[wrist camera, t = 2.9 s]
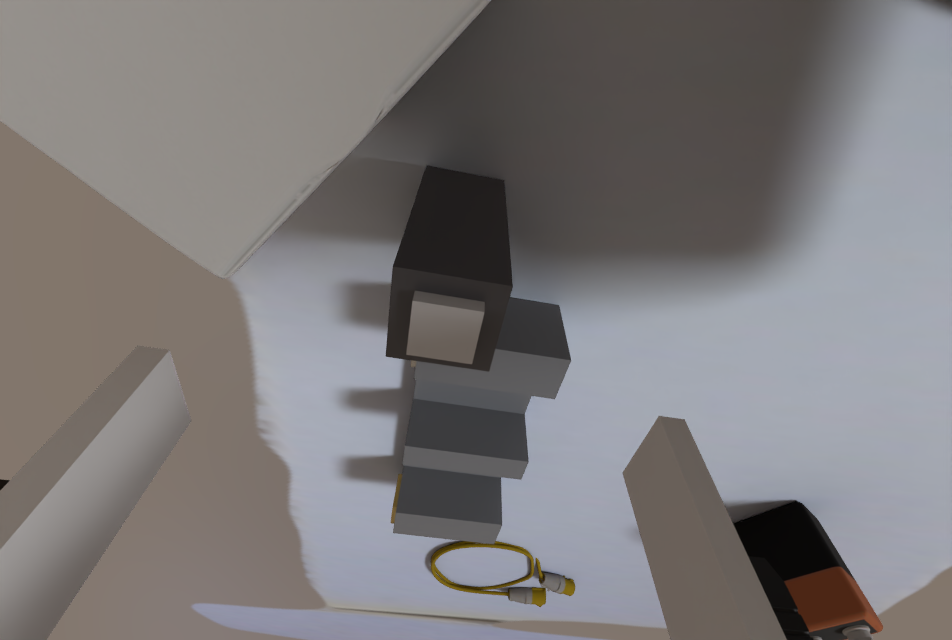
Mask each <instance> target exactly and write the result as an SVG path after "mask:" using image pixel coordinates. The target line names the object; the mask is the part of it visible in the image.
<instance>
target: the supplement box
mask: <svg viewBox="0 0 952 640" xmlns="http://www.w3.org/2000/svg"><path fill="white" fill-rule="evenodd" d="M490 1H491V0H0V121H1V122H2V123H3V124H5V125H6V126H8V127H9V128H10V129H12V130H13V131H14V132H16V133H17V134H19V135H20V136H21V137H23V138H24V139H25V140H27V141H28V142H29V143H31V144H32V145H33V146H35V147H36V148H38V149H39V150H40V151H42V152H43V153H44V154H46V155H47V156H48V157H50V158H51V159H53V160H54V161H55V162H57V163H58V164H60V165H61V166H62V167H64V168H65V169H66V170H68V171H69V172H71V173H72V174H73V175H75V176H76V177H77V178H79V179H80V180H82V181H83V182H84V183H85V184H87V185H88V186H89V187H91V188H92V189H94V190H95V191H96V192H97V193H99V194H100V195H102V196H103V197H104V198H106V199H107V200H108V201H110V202H111V203H113V204H114V205H115V206H117V207H118V208H120V209H121V210H122V211H124V212H125V213H126V214H128V215H129V216H131V217H132V218H133V219H135V220H136V221H138V222H139V223H140V224H142V225H143V226H144V227H146V228H147V229H149V230H150V231H151V232H153V233H154V234H156V235H157V236H158V237H160V238H161V239H162V240H164V241H165V242H167V243H168V244H169V245H171V246H172V247H174V248H175V249H177V250H178V251H180V252H181V253H183V254H184V255H186V256H187V257H188V258H190V259H192V260H193V261H194V262H196V263H197V264H199V265H200V266H202V267H203V268H205V269H206V270H207V271H209V272H210V273H212V274H214V275H215V276H217V277H219V278H221V279H225V278H229V277H230V276H231V275H233V274H234V273H235V272H237V271H238V270H239V269H240V268H241V266H242V265H243V264H244V263H245V262H246V261H247V260H248V259H249V258H250V257H251V256H252V255H253V254H254V253H255V252H256V251H257V250H258V249H259V248H260V247H261V246H262V245H263V244H264V243H265V241H266V240H267V239H268V238H269V237H270V236H271V235H272V234H273V233H274V232H275V231H276V230H277V229H278V228H279V227H280V226H281V225H282V224H283V223H284V222H285V221H286V220H287V219H288V218H289V217H290V216H291V215H292V214H293V212H294V211H295V210H296V209H297V208H298V207H299V206H300V205H301V204H302V203H303V202H304V201H305V200H306V199H307V198H308V197H309V196H310V195H311V194H312V193H313V192H314V191H315V190H316V189H317V188H318V187H319V185H320V184H321V183H322V182H323V181H324V180H325V179H326V178H327V177H328V176H329V175H330V174H331V173H332V172H333V171H334V170H335V169H336V168H337V167H338V165H339V164H340V163H341V162H342V161H343V160H344V159H345V158H346V157H347V156H348V155H349V154H350V153H351V152H352V151H353V150H354V149H355V148H356V146H357V145H358V144H359V143H360V142H361V141H362V140H363V139H364V138H365V137H366V136H367V135H368V134H369V133H370V132H371V130H372V129H373V128H374V127H375V126H376V125H377V124H378V123H379V122H380V121H381V120H382V119H383V118H384V117H385V116H386V114H387V113H388V112H389V111H390V110H391V109H392V108H393V107H394V106H395V105H396V104H397V103H398V102H399V101H400V99H401V98H402V97H403V96H404V95H405V94H406V93H407V92H408V91H409V90H410V89H411V87H412V86H413V85H414V84H415V83H416V82H417V81H418V80H419V79H420V78H421V77H422V75H423V74H424V73H425V72H426V71H427V70H428V69H429V68H430V67H431V66H432V65H433V64H434V62H435V61H436V60H437V59H438V58H439V57H440V56H441V55H442V54H443V53H444V52H445V51H446V49H447V48H448V47H449V46H450V45H451V44H452V43H453V42H454V41H455V40H456V39H457V38H458V36H459V35H460V34H461V33H462V32H463V31H464V30H465V29H466V28H467V27H468V26H469V25H470V23H471V22H472V21H473V20H474V19H475V18H476V17H477V16H478V15H479V14H480V12H481V11H482V10H483V9H484V8H485V7H486V6H487V5H488V4H489V2H490Z"/></svg>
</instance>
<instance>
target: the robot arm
mask: <svg viewBox="0 0 952 640" xmlns="http://www.w3.org/2000/svg"><path fill="white" fill-rule="evenodd" d="M190 422H191V418H190V415H189V412H188V408H187V405H186V402H185V398H184V395H183V392H182V389H181V385H180V382H179V379H178V376H177V372H176V369H175V366H174V362H173V359H172V356H171V353H170V350H166V349H158V348H151V347H144V346H137V347H136V348H135V349H134V350H133V351H132V352H131V353H130V354H129V355H128V356H127V357H126V359H125V360H124V361H123V362H122V363H121V364H120V365H119V366H118V367H117V368H116V369H115V370H114V371H113V372H112V373H111V374H110V375H109V376H108V378H106V380H105V381H104V382H103V383H102V384H101V385H100V386H99V387H98V388H97V389H96V390H95V391H94V392H93V393H92V394H91V395H90V396H89V398H88V399H87V400H86V401H85V402H84V403H83V404H82V405H81V406H80V407H79V408H78V409H77V410H76V411H75V412H74V413H73V414H72V415H71V417H70V418H69V419H68V420H67V421H66V422H65V423H64V424H63V425H62V426H61V427H60V428H59V429H58V430H57V431H56V432H55V433H54V434H53V435H52V437H51V438H50V439H49V440H48V441H47V442H46V443H45V444H44V445H43V446H42V447H41V448H40V449H39V450H38V451H37V452H36V453H35V454H34V456H33V457H32V458H31V459H30V460H29V461H28V462H27V463H26V464H25V465H24V466H23V467H22V468H21V469H20V470H19V471H18V473H16V475H15V476H14V477H13V478H12V479H11V480H0V640H47V638H48V637H49V635H50V634H51V632H52V631H53V629H54V628H55V626H56V624H57V623H58V622H59V620H60V619H61V617H62V616H63V614H64V613H65V611H66V610H67V608H68V607H69V605H70V603H71V602H72V600H73V599H74V597H75V596H76V594H77V593H78V591H79V590H80V588H81V587H82V585H83V584H84V582H85V580H86V579H87V578H88V576H89V575H90V573H91V572H92V570H93V569H94V567H95V566H96V564H97V563H98V561H99V560H100V558H101V557H102V555H103V554H104V552H105V551H106V549H107V548H108V546H109V544H110V543H111V542H112V540H113V539H114V537H115V536H116V534H117V532H118V531H119V529H120V528H121V526H122V525H123V523H124V522H125V520H126V519H127V517H128V516H129V514H130V513H131V511H132V510H133V508H134V507H135V505H136V504H137V502H138V501H139V499H140V498H141V496H142V495H143V493H144V492H145V490H146V489H147V487H148V485H149V484H150V483H151V481H152V480H153V478H154V477H155V475H156V474H157V472H158V471H159V469H160V467H161V466H162V464H163V463H164V461H165V460H166V458H167V457H168V455H169V454H170V452H171V451H172V449H173V448H174V446H175V445H176V443H177V442H178V440H179V439H180V437H181V436H182V434H183V433H184V431H185V430H186V428H187V427H188V425H189V424H190ZM623 476H624V479H625V483H626V486H627V490H628V493H629V497H630V500H631V504H632V507H633V511H634V514H635V518H636V521H637V525H638V528H639V532H640V535H641V539H642V542H643V546H644V549H645V552H646V556H647V559H648V563H649V566H650V570H651V573H652V577H653V580H654V584H655V587H656V591H657V594H658V598H659V601H660V605H661V608H662V612H663V615H664V619H665V622H666V625H667V629H668V632H669V636H670V639H671V640H814V639H813V637H810V635H809V632H810V631H809V629H808V628H807V626H806V624H805V622H804V620H803V618H802V616H801V614H799V613H798V608H797V606H796V604H795V602H794V600H793V598H792V596H791V594H790V592H789V590H788V588H787V586H786V584H785V582H784V581H783V580H782V578H781V577H780V576H779V575H778V574H777V572H776V571H775V570H774V569H773V567H772V566H771V565H770V564H769V563H768V561H767V560H766V559H765V558H761V557H751V556H748V555H747V553H746V551H745V549H744V546H743V544H742V542H741V540H740V538H739V536H738V534H737V531H736V529H735V527H734V525H733V523H732V521H731V518H730V516H729V514H728V512H727V510H726V508H725V506H724V503H723V501H722V499H721V497H720V495H719V493H718V490H717V488H716V486H715V484H714V482H713V480H712V478H711V475H710V473H709V471H708V469H707V467H706V465H705V462H704V460H703V458H702V456H701V454H700V452H699V450H698V447H697V445H696V443H695V441H694V439H693V437H692V435H691V432H690V430H689V428H688V426H687V424H686V422H685V419H678V418H670V417H663V416H659V417H658V418H657V420H656V422H655V423H654V425H653V426H652V428H651V429H650V431H649V432H648V434H647V436H646V437H645V439H644V440H643V442H642V443H641V445H640V446H639V448H638V450H637V451H636V453H635V454H634V456H633V457H632V459H631V460H630V462H629V464H628V465H627V467H626V468H625V470H624V471H623Z"/></svg>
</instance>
